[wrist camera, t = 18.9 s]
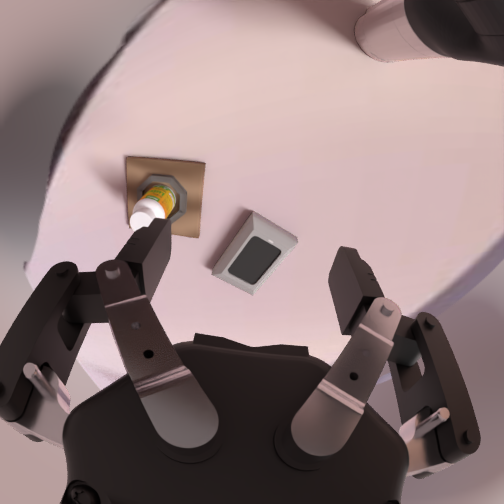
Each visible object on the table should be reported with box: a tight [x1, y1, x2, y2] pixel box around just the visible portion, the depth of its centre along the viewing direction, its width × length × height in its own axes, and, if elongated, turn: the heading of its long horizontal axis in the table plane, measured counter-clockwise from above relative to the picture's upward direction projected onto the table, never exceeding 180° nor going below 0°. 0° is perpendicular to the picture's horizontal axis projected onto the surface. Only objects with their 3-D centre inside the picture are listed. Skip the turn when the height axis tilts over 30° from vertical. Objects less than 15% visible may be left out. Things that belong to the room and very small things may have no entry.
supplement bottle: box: [130, 185, 176, 232], centre depth 42 cm, size 5×5×10 cm
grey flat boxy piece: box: [212, 211, 298, 295], centre depth 52 cm, size 10×4×15 cm
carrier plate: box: [126, 157, 205, 238], centre depth 46 cm, size 14×14×2 cm
